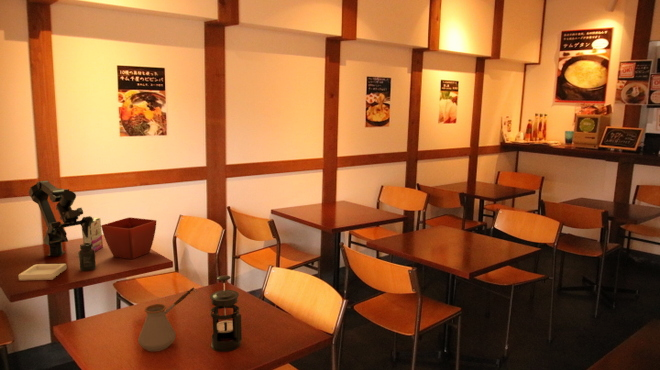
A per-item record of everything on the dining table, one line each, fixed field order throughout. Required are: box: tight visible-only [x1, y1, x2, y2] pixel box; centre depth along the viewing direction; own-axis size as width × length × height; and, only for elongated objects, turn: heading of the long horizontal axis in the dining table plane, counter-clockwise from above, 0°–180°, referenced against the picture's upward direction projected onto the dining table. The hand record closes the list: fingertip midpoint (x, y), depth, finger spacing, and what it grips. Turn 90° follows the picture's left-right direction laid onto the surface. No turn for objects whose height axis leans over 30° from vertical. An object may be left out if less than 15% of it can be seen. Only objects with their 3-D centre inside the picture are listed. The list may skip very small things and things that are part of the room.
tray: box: [18, 263, 68, 281], centre depth 220 cm, size 14×14×2 cm
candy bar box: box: [81, 217, 104, 253], centre depth 255 cm, size 11×5×16 cm, turn 179°
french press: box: [209, 274, 243, 353], centre depth 155 cm, size 12×9×23 cm
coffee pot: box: [137, 287, 198, 353], centre depth 159 cm, size 21×12×15 cm, turn 143°
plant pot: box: [101, 217, 157, 260], centre depth 248 cm, size 19×19×17 cm
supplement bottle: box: [77, 243, 97, 272], centre depth 227 cm, size 7×7×12 cm
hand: (77, 239), depth 230 cm, fingers open, 9 cm apart
